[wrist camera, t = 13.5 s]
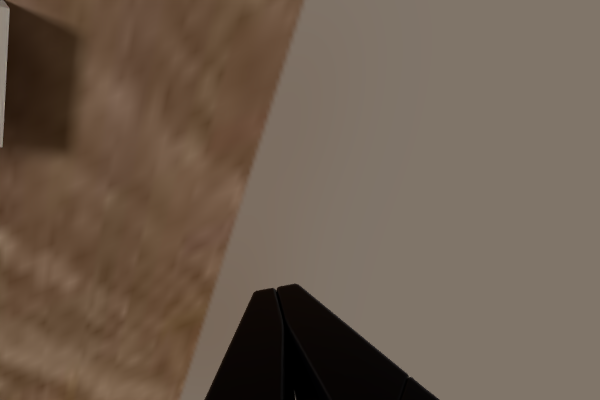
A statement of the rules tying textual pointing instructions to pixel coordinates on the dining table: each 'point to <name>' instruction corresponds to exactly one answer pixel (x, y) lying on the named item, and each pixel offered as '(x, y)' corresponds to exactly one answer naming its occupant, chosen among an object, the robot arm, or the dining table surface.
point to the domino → (3, 60)
